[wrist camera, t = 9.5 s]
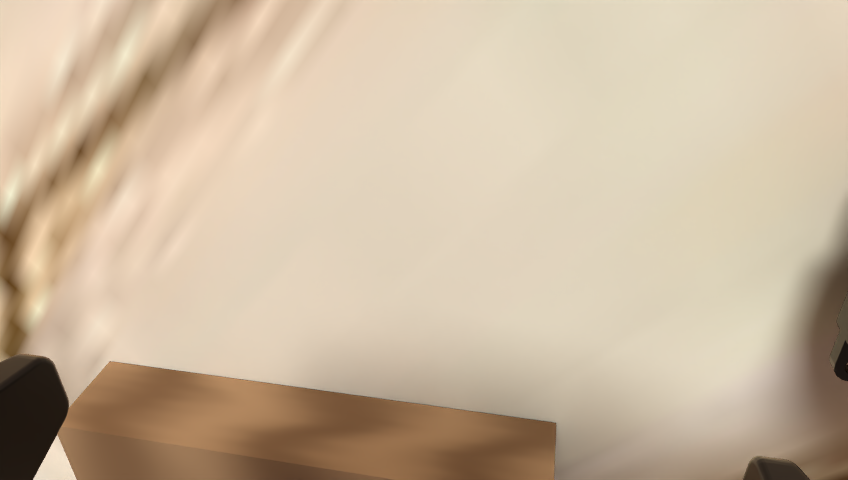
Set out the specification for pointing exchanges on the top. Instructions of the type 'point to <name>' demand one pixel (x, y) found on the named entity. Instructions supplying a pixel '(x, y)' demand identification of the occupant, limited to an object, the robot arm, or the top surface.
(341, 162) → the top surface
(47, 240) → the top surface
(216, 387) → the can holder
